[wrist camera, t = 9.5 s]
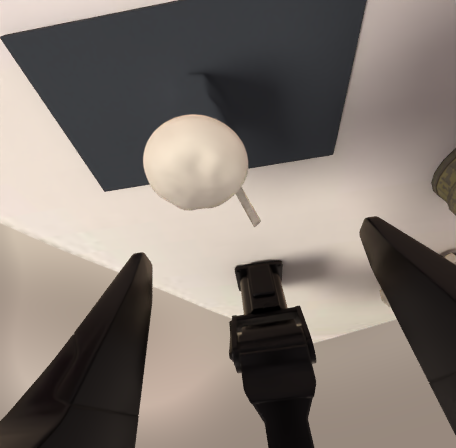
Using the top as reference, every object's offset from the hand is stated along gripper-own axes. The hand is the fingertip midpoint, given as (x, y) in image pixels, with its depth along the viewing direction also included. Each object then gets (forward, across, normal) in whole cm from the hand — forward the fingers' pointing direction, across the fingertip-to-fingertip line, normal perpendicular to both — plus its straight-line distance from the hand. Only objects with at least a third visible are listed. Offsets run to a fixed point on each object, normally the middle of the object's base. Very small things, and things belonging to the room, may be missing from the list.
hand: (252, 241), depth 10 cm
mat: (+12, +2, -1) cm, 12 cm away
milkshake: (+11, +2, -2) cm, 11 cm away
